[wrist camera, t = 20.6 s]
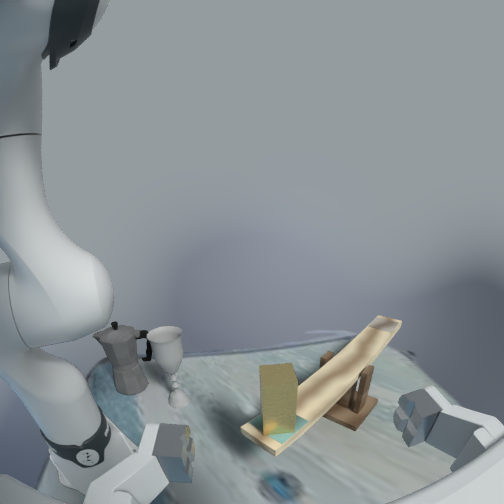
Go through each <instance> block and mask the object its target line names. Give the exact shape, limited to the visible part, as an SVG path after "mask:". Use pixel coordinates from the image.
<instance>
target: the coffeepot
mask: <svg viewBox="0 0 504 504" xmlns="http://www.w3.org/2000/svg"><path fill="white" fill-rule="evenodd" d="M111 325H112V327H109V328H107V329H105V330H104V331H101V332H97V333H95V334H94V335H93V337H94V338H95V339H96V340H97V341H98V342H99V343H100V344H101V345H102V346H103V349H104V351H105V353H106V355H107V357H108V359H109V361H110V363H111V364H112V368H113V374H114V381H115V385H116V389H117V392H119V393H122V394H125V395H134V394H138V393H140V392H142V391H144V390H145V389H146V387H147V385H148V384H149V383H148V381H147V379H146V376H145V374H144V372H143V370H142V368H141V366H140V364H139V362H138V360H137V357H138V355H137V344H136V339H141V338H146V339H147V334H148V333H149V332H148V331H146V330H142V331H140V330H134V328H133V327H130V326H125V325H119V326H118V323H117V322H112V323H111ZM146 355H147V357H144V358H142V360H143V361H150V360H151V357H152V347H151V343H150V341H149V340H148V339H147V350H146Z"/></svg>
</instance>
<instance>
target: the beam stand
mask: <svg viewBox="0 0 504 504" xmlns="http://www.w3.org/2000/svg"><path fill="white" fill-rule="evenodd" d="M333 354H334V353H333V352H330V351H328V352H327V353H326V354H324V355H323V356H322V357H321V360H320V368H321V367H323V366H324V365H325V364H326V363H327V362H328V361H330V360H331V359H332V358H333ZM373 369H374V366H371V365H368V366H367V367H366V368H365V370H364V371H363V372H362V374H361V379H360V384H359V389H358V392H357V391H355V390H356V386H357V381H358V380H357V381H356V382H355V383H354V384H353V385H352V386H351V387H350V388H349V390H348V391H347V392H346V393H345V394H344V395H343V396H342V397H341V398H340V399H339V400H338V401H337V402H336V403H335V404H334V405H333V406H332V407H331V408H330V409H329V410H328V411H327V412H326V413H325V414H324V415H323V417H325V418H327V419H330V420H332V421H334V422H336V423H338V424H341V425H343V426H345V427H347V428H350V429H352V430H354V431H356V430H357V428H358V427H359V426H360V425H361V423H362V422H363V421H364V420H365V418H366V417H367V416H368V414H369V413H370V412H371V411H372V409H373V408H374V407H375V405H376V404H377V402H378V399H376V398H373V397H370V396H368V395H367V394H368V390H369V386H370V382H371V378H372V374H373Z"/></svg>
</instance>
